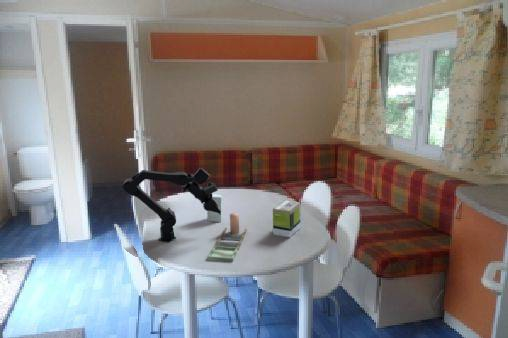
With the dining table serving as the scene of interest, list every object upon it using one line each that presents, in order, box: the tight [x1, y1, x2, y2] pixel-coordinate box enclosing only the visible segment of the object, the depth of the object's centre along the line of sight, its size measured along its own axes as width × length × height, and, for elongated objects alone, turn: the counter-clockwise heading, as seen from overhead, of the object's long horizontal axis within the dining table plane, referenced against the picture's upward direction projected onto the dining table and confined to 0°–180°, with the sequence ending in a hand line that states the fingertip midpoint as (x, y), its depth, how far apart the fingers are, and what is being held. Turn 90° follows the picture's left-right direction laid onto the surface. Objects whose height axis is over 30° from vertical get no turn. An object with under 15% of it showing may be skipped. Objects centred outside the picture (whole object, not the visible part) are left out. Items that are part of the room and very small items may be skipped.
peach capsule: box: [229, 212, 240, 234], centre depth 202 cm, size 5×5×10 cm
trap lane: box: [207, 227, 248, 263], centre depth 189 cm, size 36×12×1 cm, turn 171°
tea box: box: [272, 199, 302, 238], centre depth 202 cm, size 15×10×15 cm, turn 152°
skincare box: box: [206, 193, 224, 223], centre depth 219 cm, size 8×6×15 cm
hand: (219, 209), depth 198 cm, fingers open, 9 cm apart
